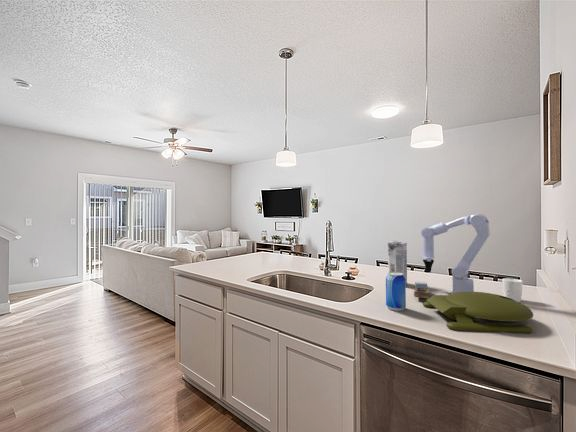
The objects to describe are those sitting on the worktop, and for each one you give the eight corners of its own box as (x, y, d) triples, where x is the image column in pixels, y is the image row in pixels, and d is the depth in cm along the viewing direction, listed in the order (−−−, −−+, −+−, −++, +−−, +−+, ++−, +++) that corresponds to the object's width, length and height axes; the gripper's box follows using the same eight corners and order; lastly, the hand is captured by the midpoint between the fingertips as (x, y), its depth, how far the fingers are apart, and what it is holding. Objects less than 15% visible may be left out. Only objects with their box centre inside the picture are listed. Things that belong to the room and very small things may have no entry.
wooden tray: (428, 291, 155) (427, 283, 155) (429, 302, 136) (429, 292, 136) (414, 290, 158) (414, 282, 158) (414, 300, 138) (413, 291, 138)
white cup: (519, 298, 140) (519, 279, 140) (525, 303, 133) (524, 282, 133) (500, 297, 144) (500, 277, 144) (504, 301, 137) (504, 280, 137)
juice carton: (409, 283, 173) (408, 240, 173) (398, 286, 167) (398, 241, 167) (396, 281, 180) (396, 239, 180) (386, 283, 174) (385, 240, 175)
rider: (426, 289, 147) (426, 282, 147) (427, 290, 144) (426, 284, 144) (415, 288, 149) (415, 281, 149) (415, 289, 146) (415, 283, 146)
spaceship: (450, 332, 102) (449, 305, 102) (421, 305, 133) (420, 285, 133) (556, 336, 98) (555, 308, 98) (501, 307, 128) (500, 286, 128)
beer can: (396, 312, 122) (396, 276, 122) (382, 307, 129) (381, 272, 129) (409, 309, 126) (409, 274, 126) (394, 304, 133) (394, 271, 133)
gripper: (420, 247, 168) (420, 269, 168) (420, 249, 155) (420, 274, 155) (433, 247, 165) (433, 270, 165) (435, 250, 152) (435, 275, 152)
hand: (428, 272), depth 159 cm, fingers closed
